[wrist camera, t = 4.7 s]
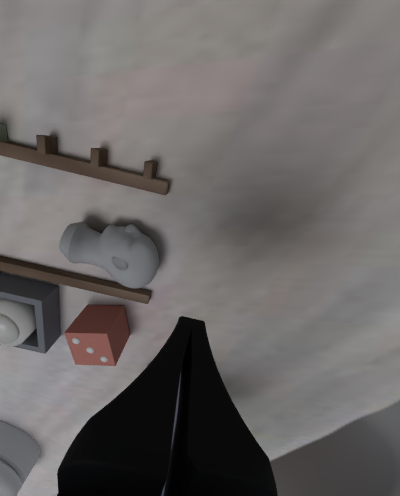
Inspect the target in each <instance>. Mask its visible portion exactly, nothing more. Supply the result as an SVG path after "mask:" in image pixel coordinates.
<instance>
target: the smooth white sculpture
mask: <svg viewBox="0 0 400 496" xmlns="http://www.w3.org/2000/svg"><path fill="white" fill-rule="evenodd" d="M59 247H60V251H61V252H62V253H63V254H64V255H65V257H66V258H67V259H68V260H69V261H70V262H72V263H87V264H92V265H96V266H99V267H101V268H103V269H105V270H106V271H107V272H108V273H109V274H110V275H111V276H112V277H113V278H114V279H115V280H116V281H117V282H118V283H120V284H121V285H123V286H125V287H129V288H141V287H144V286H146V285H147V284H149V283H150V282H151V281H152V280H153V278H154V276H155V275H156V272H157V270H158V266H159V257H158V252H157V249H156V247H155V245H154V243H153V241H152V240H151V239H150V238H149V237H148V236H146V235H144V234H142V233H141V232H140V230H139V229H138V228H137V227H136V226H134V225H132V224H129V225H127V226H126V227H125V226H121V227H119V226H114V225H108V226H107V227H106V228H105V230H104V231H103V233H99V232H97V231H95V230H92V229H90V228H89V227H88V226H87V224H86V223H85V222H78V223H73V224H70V225H69V226H68V227H67V228H66V229H65V231H64V233H63V235H62V237H61V240H60V245H59Z"/></svg>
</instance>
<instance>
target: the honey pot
mask: <svg viewBox="0 0 400 496" xmlns="http://www.w3.org/2000/svg"><path fill="white" fill-rule="evenodd" d="M39 456H40V449H39V447H38V445H37V443H36V442H35V441H34V440H33V439H32V438H31V437H30V436H29V435H27V434H26V433H25V432H23V431H22V430H20V429H18V428H16V427H14V426H12V425H9V424H7V423H4V422H1V421H0V496H17V493H18V491H19V490H20V489H21V487H22V485H23V483H24V482H25V480H26V478H27V477H28V475H29V473H30V471H31V470H32V468H33V466H34V465H35V463H36V461H37V459H38V458H39Z"/></svg>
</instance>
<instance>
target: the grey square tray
mask: <svg viewBox="0 0 400 496" xmlns="http://www.w3.org/2000/svg"><path fill="white" fill-rule="evenodd" d="M0 297H1V298H5V299H10V300H14V301H18V302H23V303H27V304H31V305H35V316H36V327H37V328H36V329H35V330H34V331H33V332H32V333H31V334H30V335H29V336H28V337H27V338H26V339H25V340H24V341H23V342H22V343H21V344H19V345H17V346H13V347H18V348H22V349H27V350H31V351H36V352H40V353H46V352H47V351H48V350H49V349H50V348H51V346H52V345H53V344H54V343H55V342H56V340H57V339H58V338H59V337H60V315H59V287H58V286H56V285H51V284H47V283H43V282H38V281H34V280H30V279H25V278H21V277H17V276H12V275H8V274H4V273H0Z"/></svg>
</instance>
